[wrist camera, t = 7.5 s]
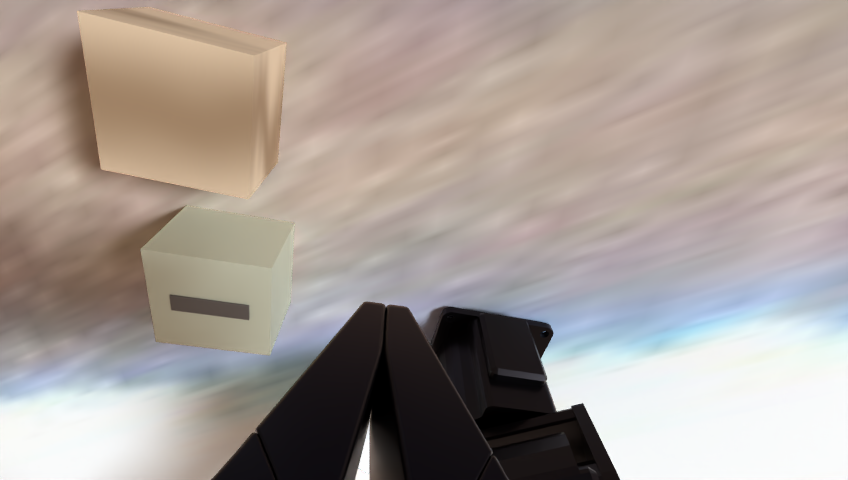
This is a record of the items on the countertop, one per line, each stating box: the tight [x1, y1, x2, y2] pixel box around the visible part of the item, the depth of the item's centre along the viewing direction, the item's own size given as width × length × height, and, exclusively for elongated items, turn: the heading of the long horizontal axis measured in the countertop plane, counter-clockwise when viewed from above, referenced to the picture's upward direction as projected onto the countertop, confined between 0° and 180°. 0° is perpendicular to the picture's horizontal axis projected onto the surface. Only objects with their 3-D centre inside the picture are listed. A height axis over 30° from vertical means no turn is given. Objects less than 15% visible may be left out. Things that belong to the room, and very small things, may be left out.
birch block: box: [77, 7, 287, 199], centre depth 15 cm, size 5×5×4 cm
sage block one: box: [140, 205, 295, 355], centre depth 19 cm, size 5×5×4 cm
